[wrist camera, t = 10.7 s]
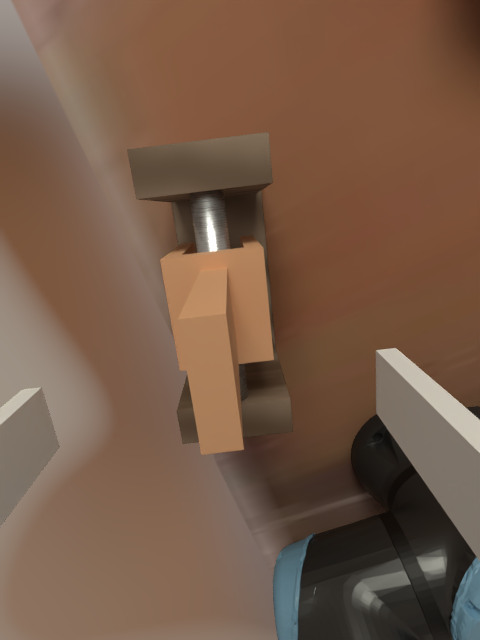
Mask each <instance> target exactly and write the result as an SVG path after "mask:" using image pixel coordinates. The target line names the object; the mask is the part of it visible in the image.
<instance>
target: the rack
mask: <svg viewBox="0 0 480 640" xmlns="http://www.w3.org/2000/svg"><path fill="white" fill-rule="evenodd" d="M127 152H128V157H129V162H130V168H131V173H132V178H133V183H134V189H135V194H136V199H139V200H151V201H163V202H171V203H172V209H173V215H174V222H175V228H176V234H177V240H178V246H179V245H181V244H182V243H191V242H194V243H195V249H196V253H201V252H210V251H218V250H226V249H235V248H241V242H240V237H241V236H249V235H253V236H254V238H255V239H256V240H257V241H258V242H259V243H260V244H261V246H262V247H263V249H264V260H265V270H266V281H267V292H268V302H269V313H270V323H271V334H272V345H273V355H274V360H269V361H260V362H252V363H243V364H239V379H240V395H241V412H242V428H243V437H251V436H261V435H270V434H279V433H288V432H293V424H292V412H291V400H290V396H289V393H288V389H287V386H286V383H285V379H284V376H283V372H282V369H281V366H280V362H279V359H278V355H277V352H276V347H275V336H274V325H273V314H272V303H271V292H270V281H269V270H268V259H267V248H266V237H265V226H264V215H263V204H262V194H261V190H262V189H264V188H265V187H267V186H268V185H270V184H272V183H273V181H272V168H271V156H270V144H269V132H266V133H258V134H249V135H241V136H233V137H225V138H217V139H209V140H201V141H193V142H185V143H177V144H169V145H160V146H152V147H144V148H136V149H128V150H127ZM177 415H178V421H179V426H180V431H181V436H182V442H183V444H187V443H195V442H199V438H198V432H197V427H196V421H195V415H194V409H193V404H192V398H191V392H190V386H189V381H188V375H187V377H186V381H185V384H184V388H183V391H182V395H181V399H180V402H179V406H178V409H177Z"/></svg>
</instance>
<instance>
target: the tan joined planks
mask: <svg viewBox="0 0 480 640" xmlns="http://www.w3.org/2000/svg"><path fill="white" fill-rule="evenodd" d="M240 242H241V248H235V249H226V250H218V251H210V252H201V253H196V249H195V243H194V242H191V243H182V244H181V245H179V246H178V247H177V248H175V249H174V250H173V251H171V252H170V253H169V254H167V255H166V256H165V257H163V258H162V259H161V260H160V262H161V268H162V273H163V279H164V285H165V290H166V296H167V301H168V307H169V312H170V318H171V324H172V329H173V335H174V340H175V346H176V351H177V357H178V362H179V368H180V371H183V370H187V375H188V381H189V386H190V392H191V398H192V404H193V409H194V415H195V421H196V427H197V432H198V438H199V444H200V450H201V454H212V453H220V452H229V451H238V450H244V444H243V428H242V412H241V395H240V379H239V364H243V363H252V362H260V361H269V360H274V355H273V345H272V334H271V323H270V313H269V302H268V292H267V281H266V270H265V260H264V249H263V247H262V246H261V244H260V243H259V242H258V241H257V240H256V239H255V238H254V236H253V235H249V236H241V237H240Z"/></svg>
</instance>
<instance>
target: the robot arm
mask: <svg viewBox="0 0 480 640" xmlns="http://www.w3.org/2000/svg"><path fill="white" fill-rule="evenodd" d="M376 413H377V414H376V415H375V416H373V417H372V418H371V419H370V420H368V421H367V422H366V423H365V424H364V425H363V427H362V428H361V429H360V430H359V432H358V434H357V435H356V437H355V439H354V442H353V445H352V450H351V461H352V465H353V468H354V471H355V473H356V475H357V477H358V479H359V481H360V483H361V484H362V486H363V487H364V489H365V490H366V491H367V492H368V493H369V494H370V495H372V496H373V497H374V498H375V499H376V500H377V501H378V502H379V503H380V504H381V505H382V506H383V507H384V508H385V509H386V510H387V511H388V512H385V513H382V514H379V515H375V516H372V517H369V518H366V519H363V520H360V521H357V522H354V523H351V524H348V525H345V526H342V527H338V528H335V529H332V530H329V531H325V532H322V533H319V534H311V535H309V536H308V537H307V538H305V539H303V540H300V541H298V542H295V543H293V544H290V545H288V546H286V547H285V548H283V549H282V550H281V552H280V553H279V555H278V557H277V560H276V565H275V568H274V577H273V601H274V613H275V622H276V630H277V636H278V640H480V407H478V406H476V407H467V408H465V407H464V406H463V405H462V404H461V403H460V402H458V401H457V400H456V399H455V398H454V397H453V396H451V395H450V394H449V393H448V392H447V391H446V390H444V389H443V388H442V387H441V386H440V385H438V384H437V383H436V382H435V381H434V380H433V379H431V378H430V377H429V376H428V375H427V374H426V373H424V372H423V371H422V370H421V369H420V368H419V367H417V366H416V365H415V364H414V363H413V362H412V361H410V360H409V359H408V358H407V357H406V356H405V355H403V354H402V353H401V352H400V351H399V350H397V349H396V348H392V349H383V350H376ZM59 447H60V446H59V443H58V440H57V436H56V433H55V430H54V427H53V423H52V420H51V417H50V413H49V410H48V407H47V403H46V400H45V397H44V394H43V391H42V388H41V387H40V388H31V389H23V390H22V391H20V392H19V393H18V394H17V395H15V396H14V397H13V398H12V399H11V400H9V401H8V402H7V403H6V404H5V405H3V406H2V407H1V408H0V526H1V525H2V524H3V522H4V521H5V520H6V518H7V517H8V516H9V514H10V513H11V512H12V510H13V509H14V507H15V506H16V505H17V504H18V502H19V501H20V500H21V498H22V497H23V496H24V494H25V493H26V491H27V490H28V489H29V488H30V486H31V485H32V484H33V482H34V481H35V479H36V478H37V477H38V475H39V474H40V472H41V471H42V470H43V469H44V467H45V466H46V465H47V463H48V462H49V461H50V459H51V458H52V457H53V455H54V454H55V453H56V451H57V450H58V449H59Z"/></svg>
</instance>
